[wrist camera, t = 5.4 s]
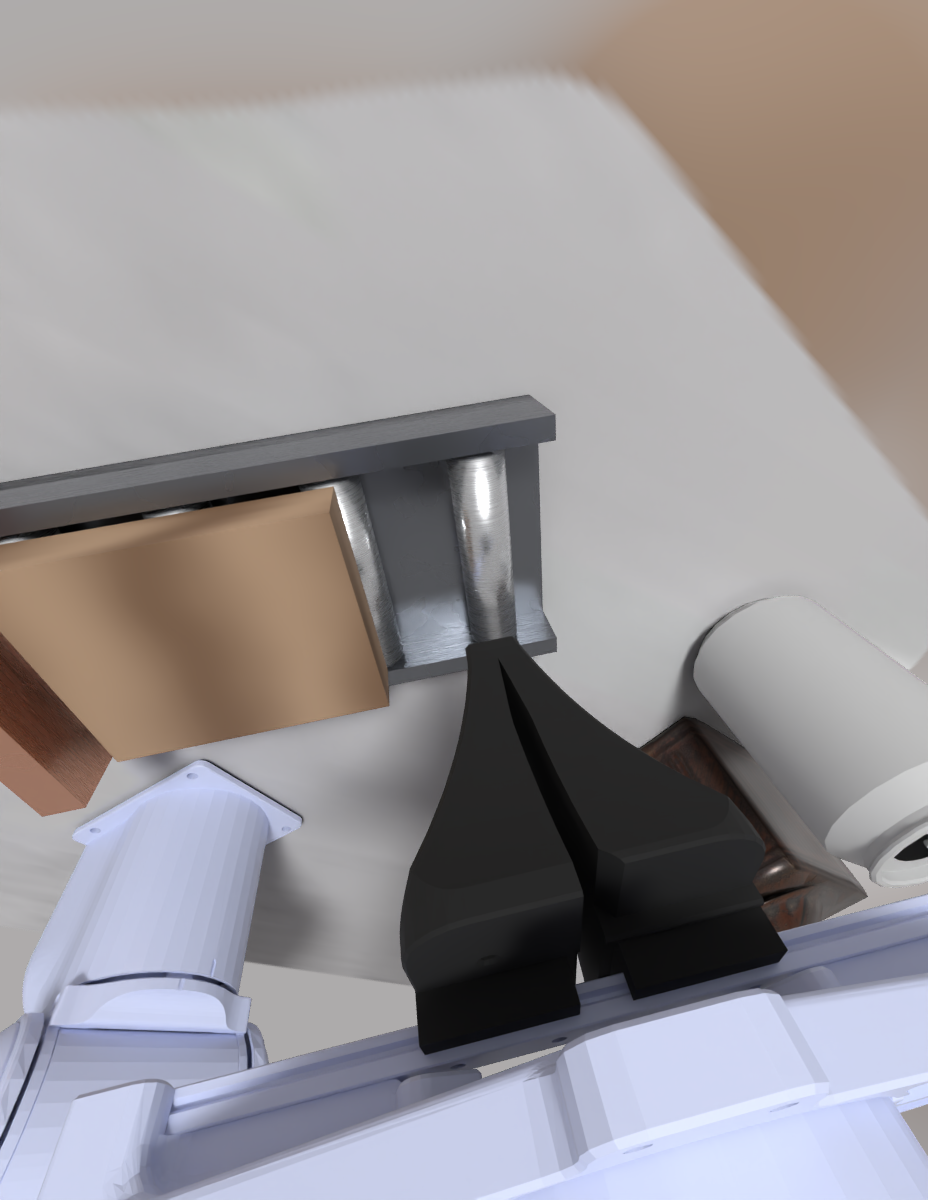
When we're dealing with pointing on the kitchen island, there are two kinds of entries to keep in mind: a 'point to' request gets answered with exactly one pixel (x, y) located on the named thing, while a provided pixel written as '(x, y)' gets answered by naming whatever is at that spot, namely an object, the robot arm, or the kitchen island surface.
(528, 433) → the roller bed
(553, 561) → the kitchen island surface
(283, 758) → the kitchen island surface
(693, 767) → the manual coffee grinder
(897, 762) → the can
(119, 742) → the tan flat block
